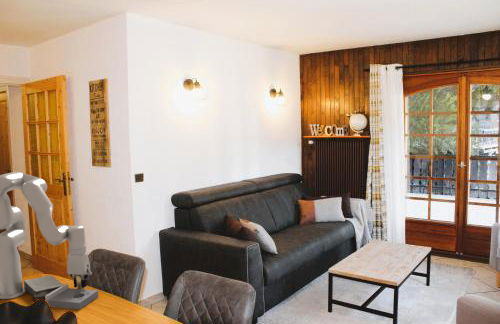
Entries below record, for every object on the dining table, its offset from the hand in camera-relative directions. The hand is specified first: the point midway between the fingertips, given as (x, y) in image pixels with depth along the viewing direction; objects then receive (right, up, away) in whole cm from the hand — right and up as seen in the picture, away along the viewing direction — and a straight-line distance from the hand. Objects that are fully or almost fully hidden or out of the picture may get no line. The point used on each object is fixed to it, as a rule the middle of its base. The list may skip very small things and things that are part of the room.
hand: (80, 286), depth 212 cm
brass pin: (0, -2, 0) cm, 2 cm away
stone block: (-18, -3, +1) cm, 18 cm away
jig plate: (+1, -3, -12) cm, 12 cm away
